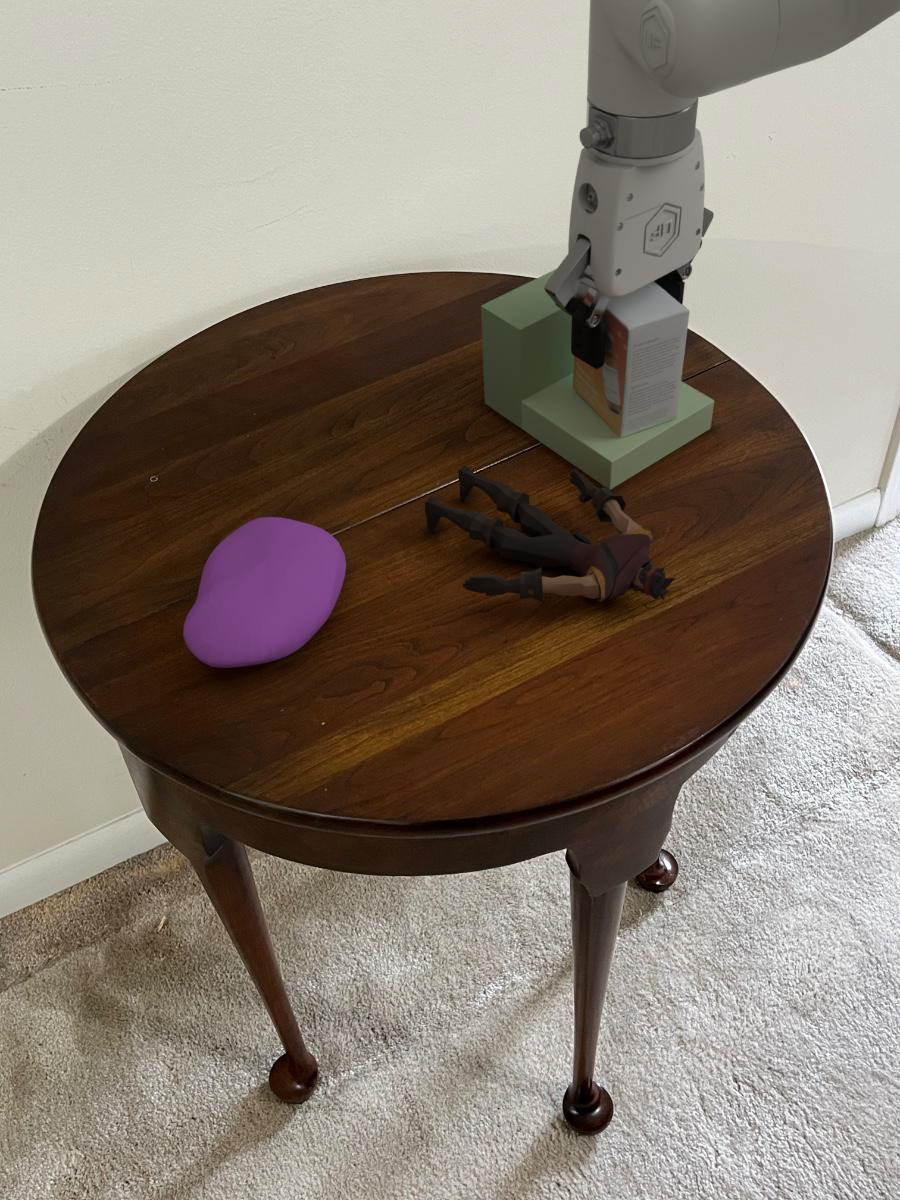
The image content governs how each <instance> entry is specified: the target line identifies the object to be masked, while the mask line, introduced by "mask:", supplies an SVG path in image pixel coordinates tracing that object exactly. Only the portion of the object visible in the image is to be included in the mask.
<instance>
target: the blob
mask: <svg viewBox="0 0 900 1200" xmlns="http://www.w3.org/2000/svg"><path fill="white" fill-rule="evenodd" d="M346 570H347V561H346V555H345V553H344V551H343V548H342V546H341V545H340V542H339V541H338V540H337V538H335V537H334V536H333V535H332V534H331V533H330V532H328V531H326V530H325V529H323V528H321V527H318V526H316V525H314V524H311V523H307V522H302V521H298V520H294V519H291V518H285V517H279V516H265V517H258V518H255V519H252V520H250V521H248V522H246V523H245V524H243V525H241V526H239V527H238V528H237V529H236V530H234V531H233V532H232V533H230V534H229V535H228V536H227V537H225V538H224V539H223V540H222V541H221V542H220V543H219V544H217V545H216V547H215V548H214V549H213V550H212V552H211V553H210V554H209V556H208V558H207V560H206V562H205V564H204V566H203V571H202V574H201V576H200V577H201V578H200V582H199V587H198V592H197V596H196V600H195V603H194V604H193V606H192V608H190V610H189V612H188V613H187V615H186V618H185V621H184V623H183V632H182V633H183V634H182V635H183V636H182V637H183V640H184V642H185V645H186V647H187V648H188V650H189V651H190V652H191V653H192V654H193V655H194V656H195V658H197V660H198V661H200V662H201V663H204V664H205V665H207V666H209V667H212V668H222V669H230V668H243V667H250V666H257V665H261V664H262V665H263V664H266V663H271V662H274V661H278V660H280V659H284V658H286V657H288V656H290V655H293V654H294V653H295V652H298V650H299V649H301V648H302V647H303V646H304V645H305V644H306V643H308V642H309V641H310V640H311V639H312V637H314V636H315V635H316V634H317V633H318V631H319V630H320V629H321V628H322V627H323V626H324V624H325V623H326V622H327V620H328V619H329V618H330V616H331V614H332V611H333V610H334V608H335V606H336V603H337V602H338V599H339V596H340V594H341V591H342V587H343V585H344V581H345V577H346V572H347V571H346Z"/></svg>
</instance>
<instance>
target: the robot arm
mask: <svg viewBox="0 0 900 1200" xmlns="http://www.w3.org/2000/svg"><path fill="white" fill-rule="evenodd" d="M899 12H900V0H589V21H588V23H589V25H588V50H587V82H586V83H587V84H586V85H587V86H586V89H587V90H586V111H585V112H586V117H585V127H583V128H581V129H580V131H579V135H578V137H579V141H580V143H581V145H582V147H583V148H582V149H581V150H580V155H579V158H578V163H577V167H576V173H575V178H574V184H573V191H572V197H571V198H572V199H571V207H570V214H569V215H570V217H569V225H568V245H567V247H568V250H567V255H566V256H565V257H564V259H563V260H561V261H562V262H561V263H560V264H559V265H558V266H557V268H555V269H556V271H555V272H554V273H553V275H552V276H551V277H550V279H549V280H548V281H547V283H546V285H545V292H546V293H547V294H548V295H549V296H550V297H551V299H552V300H553V301H554V302H555V304H556V306H558V307H559V308H560V309H562V310H563V311H565V312H566V313H567V314H569V315H571V316H572V330H571V352H572V354H573V355H574V356H575V357H577V358H579V359H580V360H582V361H583V362H585V363H587V364H588V365H590V366H592V367H593V368H595V369H599V368H601V367H602V366H603V365H604V362H605V344H606V324H605V323H604V322H603V321H601V318H602V316H603V313H604V311H605V309H606V307H607V305H608V302H609V300H610V298H613V299H614V298H619V297H622V296H625V295H627V294H629V293H631V292H633V291H635V290H637V289H639V288H641V287H643V286H645V285H647V284H649V283H651V282H652V281H654V282H655V283H657V284H658V285H659V286H660V287H661V288H662V289H664V290H665V291H666V292H667V293H668V294H669V295H671V296H672V297H673V298H674V299H676V300H677V301H678V302H679V303H680V304H682V305H684V304H683V302H684V294H685V286H686V282H685V280H687V279H688V278H690V276H691V275H692V272H693V266H692V262H693V260H694V259H695V257H697V254H698V253H699V251H700V249H701V248H702V246H703V239H702V238H704V237H705V235H706V233H707V231H708V229H709V228H710V226H711V224H712V221H713V220H714V215H715V214H714V212H713V210H710V209H708V208H706V207H705V191H706V190H705V189H706V188H705V187H706V186H705V185H706V184H705V183H706V182H705V178H706V176H705V155H704V146H703V138H702V134H701V131H700V130H699V129H698V128H697V127H696V126H697V116H698V107H699V106H698V105H699V98H703V97H707V96H710V95H714V94H716V93H719V92H722V91H725V90H728V89H731V88H734V87H737V86H741V85H744V84H746V83H747V84H748V83H749V82H751V81H753V80H757V79H760V78H762V77H765V76H769V75H772V74H776V73H778V72H781V71H784V70H787V69H790V68H793V67H797V66H800V65H803V64H806V63H810V62H814V61H815V60H819V59H821V58H823V57H825V56H827V55H830V54H832V53H834V52H836V51H838V50H840V49H842V48H843V47H845V46H847V45H849V44H850V43H852V42H854V41H856V40H857V39H859V38H860V37H862V36H863V35H866V33H868V32H869V31H871V30H873V29H874V28H875V27H878V26H879V25H880V24H881V23H883V22H885V21H886V20H888V19H889V18H891V17H893V16H894V15H896V14H897V13H899ZM574 284H575V285H574ZM573 286H574V287H573ZM590 287H591V288H593V289H594V290H596V291H597V292H596V294H595V297H594V299H593V301H592V303H591V306H590V307H589V306H588V305H586V304H585V303H584V299H585V297H586V295H587V292H588V290H589V288H590Z"/></svg>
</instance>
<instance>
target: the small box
mask: <svg viewBox="0 0 900 1200" xmlns="http://www.w3.org/2000/svg"><path fill="white" fill-rule="evenodd" d="M596 292H597V291H596V290H594V289H593V288H591V287H590V288H589V290H588V292H587V295H586V297H585V299H584V303H585V304H586V305H588V306H589V307H590V306H591V303H592V301H593V299H594V297H595V294H596ZM690 313H691V311H690V309H689V308H688V307H687V306H685V305H684V304H683V305H682V304H680V303H679V302H678V301H677V300H676V299H674V298H673V297H672V296H671V295H669V294H668V293H667V292H666V291H665V290H664V289H662V288H661V287H660V286H659V285H658V284H657V283H655V282H654V281H652V282H651V283H649V284H647V285H645V286H643V287H641V288H639V289H637V290H635V291H633V292H631V293H629V294H627V295H625V296H622V297H619V298H614V299H613V298H610V300H609V302H608V305H607V307H606V309H605V311H604V313H603V316H602V318H601V321H603V322H604V323H605V324H606V344H605V362H604V365H603V366H602V367H601V368H599V369H595V368H593V367H592V366H590V365H588V364H587V363H585V362H583V361H582V360H580V359H579V358H577V357H575V356H574V367H573V389H574V390H575V391H576V392H577V393H578V394H579V395H580V396H581V397H582V398H583V399H584V400H585V401H586V402H587V403H588V404H589V405H590V406H591V407H592V408H593V409H594V410H595V412H596V413H597V414H598V415H599V416H600V417H601V418H602V419H603V420H604V421H605V422H606V423H607V425H608V426H609V427H610V428H611V429H612V430H613V431H614V432H615V434H616V435H617V436H618V437H619V438H623V437H625V436H628V435H631V434H634V433H636V432H639V431H642V430H645V429H648V428H651V427H653V426H656V425H659V424H662V423H665V422H668V421H671V420H673V419H675V418H676V417H677V408H678V400H679V393H680V384H681V381H682V376H683V369H684V361H685V352H686V344H687V336H688V329H689V328H688V327H689V320H690Z"/></svg>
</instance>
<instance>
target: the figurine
mask: <svg viewBox="0 0 900 1200" xmlns="http://www.w3.org/2000/svg"><path fill="white" fill-rule="evenodd" d="M568 474H569V478H568V481H569V482H570V483H571V484H572V485H573V486H575V487H576V488H577V489H578V491H579V492H580V493H579V494H578V496H577V498H578V500H579V502H580V503H581V504H585V503H587V502H589V501H591V505H592V508H593V509H594V510H595V514H596V516H597V518H598V520H599V522H600V523H612V524H613V527H614V529H615V530H616V532H617V534H615V535H613V536H611V537H609V538H608V539H605V540H604V541H601V542H598V543H595V544H594V545H593V544H592V541H591V540H590V539H588V537H586V536H585V535H583V534H582V533H580V532H576V533H574V534H573V535H572V533H570V531H568V530H567V529H566V528H564V527H563V526H561V525H559V524H557V523H555V522H553V521H552V519H551V518H549V516H548V515H547V514H546V512H544V511H543V510H542V508H541V507H540V506H537V505H532V504H531V503H530V495H529V494H527V493H525V492H517V491H516V490H515V488H514V487H513V486H512V485H510V484H506V483H504V482H503V481H501V480H495V479H494V480H493V479H490V478H486V477H483V476H481V475H479V474H477V473H475V472H473V471H472V470H471V469H470V468H469V467H468V466H467V465H463V466H462V467H460V469H458V475H457V479H458V483H459V497H460V500H461V502H462V503H464V504H466V503H467V502H468V501H469V500H470V498H471V496H472V493H473V490H474V488H478V489H479V490H481V491H482V492H483V493H485V494H486V495H487V496H488V498H489V499H490V500H491V501H492V502H493V504H495V505H496V510H497V511H498V512H501V513H507V514H508V515H509V517H510V519H511V520H512V522H513V523H515V524H518V525H519V526H520V530H521V531H519V530H517V529H515V528H512V527H505V522H504V520H502V519H500V518H490V517H489V516H488V515H486V514H485V513H483V512H481V511H478V512H475V511H473V510H472V509H465V510H464V509H463V510H462V509H458V508H453V507H450V506H447V505H445V504H444V503H441V502H440V501H439V500H437V499H436V498H435V497H433V496H430V497H429V498H427V500H425V501H424V513H425V517H426V527H427V529H428V530H429V531H430V533H432V534H435V533H436V532H437V531H439V529H440V525H441V519H442V518H445V519H447V520H448V521H450V522H451V523H453V524H455V526H457V527H459V528H460V529H461V530H463V531H464V532H466V533H468V538H469V539H471V540H473V541H482V542H483V544H484V545H485V547H486V548H487V549H488V550H492V551H494V550H495V549H496V550H497V551H498V553H499V555H500V556H501V557H502V558H504V559H510V560H517V561H523V562H526V563H527V562H528V563H530V564H533V565H537V566H539V568H536V569H534V570H533V571H521V572H520V574H519V577H517V578H514V579H510V580H507V579H506V578H505V577H504V576H503V575H500V574H499V575H498V574H484V575H471V576H469V578H467V579H464V582H463V583H462V588H464V589H465V590H466V591H471V592H474V593H477V594H485V595H486V597H492V596H493V597H494V596H501V595H505V594H519V599H528V598H532V599H534V600H537V601H539V602H540V603H542V604H544V594H554V595H559V596H569V597H572V596H582V597H584V598H586V599H587V598H588V599H593V600H594V599H595V601H596V602H602V601H604V600H608V601H609V600H611V599H612V598H615V597H620V596H625V594H626V593H627V592H628V591H631V590H632V591H633V592H640V594H645V596H650V597H651V598H653V599H654V600H658V599H659V598H660V599H662V601H664V602H665V595H667V594H669V593H670V592H672V591H671V590H669V589H668V588H669V587H670V585H671V584H672V583H673V582H674V581H675V579H676V577H670V578H669V577H668V578H666V577H667V575H666V571H665V569H666V566H664V567H655V566H653V565H652V564H651V558H650V557H649V554H650V545H651V543H652V540H653V535H652V532H651V531H650V530H649V529H644V527H642V526H641V525H640V524H638V523H637V522H635V521H634V520H633V519H632V518H631V517H630V516H629V515H628V514H626V513H625V512H624V511H625V508H626V506H627V504H626V501H625V499H624V498H623V496H622V495H618V494H614V493H612V491H611V490H609V489H608V487H600V488H598V487H597V486H596V485H594V484H593V483H592V482H591V481H590V480H589V479H588V478H587V477H586V476H584V475H583V474H582V472H580V471H579V470H577V469H576V468H573V469H570V472H569V473H568ZM542 567H565V568H570V569H571V570H574V571H575V572H577V573H578V574H579V575H580V576H575V575H574V576H573V575H560V576H559V575H558V576H556V577H548V576H544V575H543V572H542Z"/></svg>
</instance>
